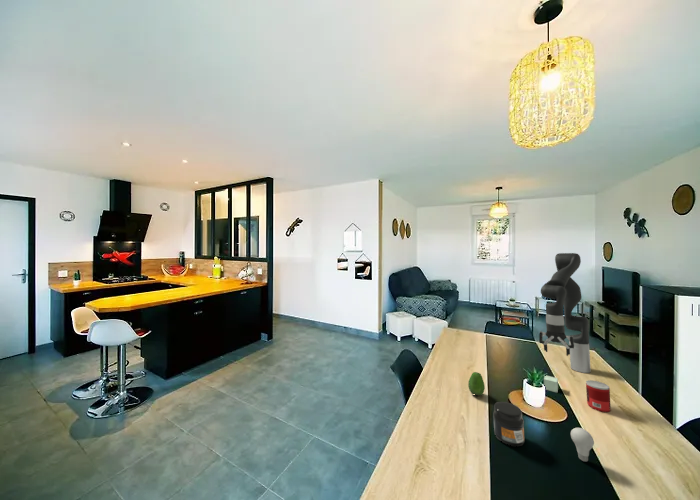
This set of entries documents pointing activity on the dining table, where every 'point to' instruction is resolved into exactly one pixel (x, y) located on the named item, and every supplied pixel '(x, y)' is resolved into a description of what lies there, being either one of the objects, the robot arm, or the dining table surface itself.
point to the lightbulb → (582, 442)
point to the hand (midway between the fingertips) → (556, 353)
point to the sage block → (551, 383)
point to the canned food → (598, 396)
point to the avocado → (476, 384)
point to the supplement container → (508, 424)
